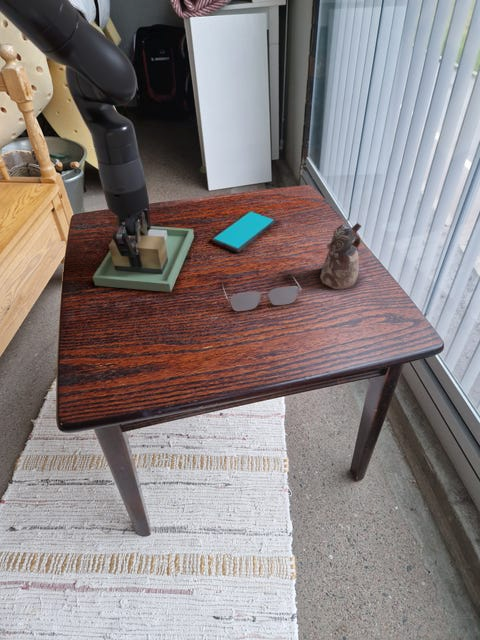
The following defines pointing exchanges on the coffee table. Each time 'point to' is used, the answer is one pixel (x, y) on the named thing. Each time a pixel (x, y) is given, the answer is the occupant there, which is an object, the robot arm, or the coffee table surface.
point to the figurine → (342, 258)
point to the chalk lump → (157, 233)
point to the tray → (176, 254)
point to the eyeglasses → (252, 298)
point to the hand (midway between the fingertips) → (140, 260)
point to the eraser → (143, 255)
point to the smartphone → (243, 231)
